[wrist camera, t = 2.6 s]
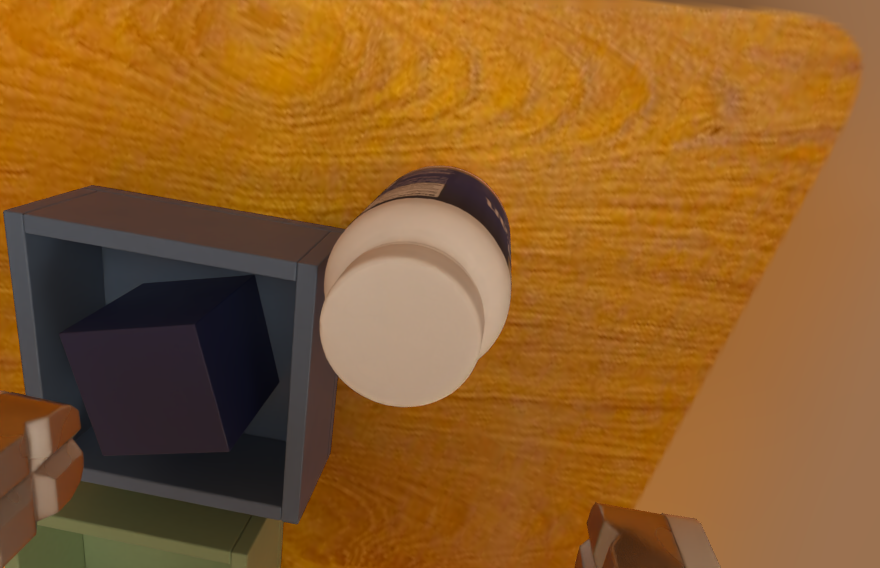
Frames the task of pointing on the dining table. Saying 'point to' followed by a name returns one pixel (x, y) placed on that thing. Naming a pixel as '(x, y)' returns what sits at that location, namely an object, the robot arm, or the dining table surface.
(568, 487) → the dining table surface
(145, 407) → the navy block
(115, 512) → the green bin
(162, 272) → the blue bin
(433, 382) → the pill bottle
